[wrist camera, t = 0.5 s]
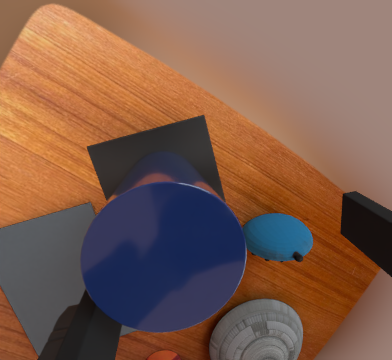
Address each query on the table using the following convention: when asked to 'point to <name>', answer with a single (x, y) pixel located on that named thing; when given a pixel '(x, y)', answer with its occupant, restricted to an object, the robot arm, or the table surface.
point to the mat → (44, 269)
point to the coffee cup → (164, 355)
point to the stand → (154, 142)
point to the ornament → (277, 237)
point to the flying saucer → (258, 332)
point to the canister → (163, 248)
